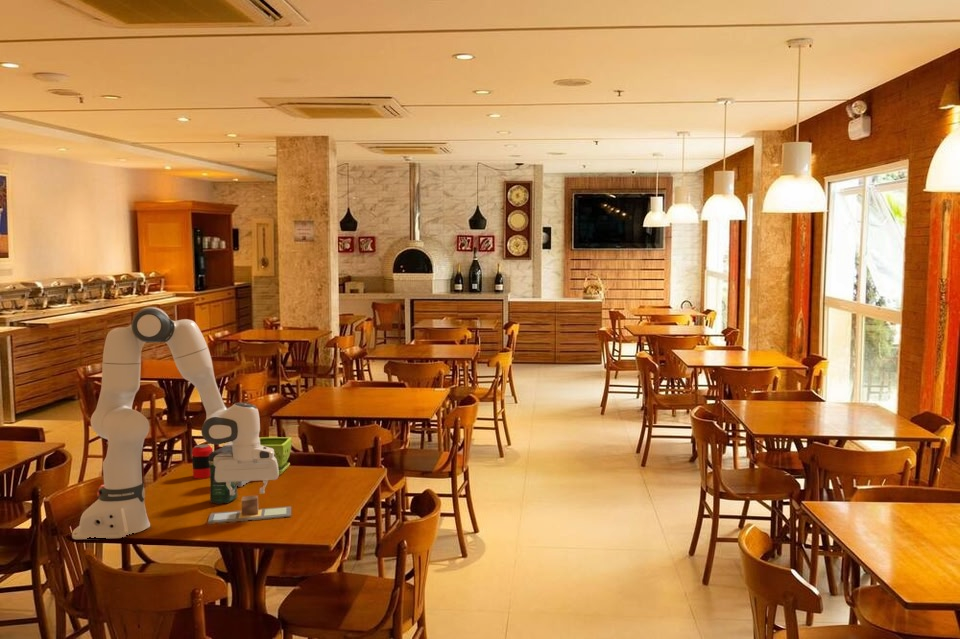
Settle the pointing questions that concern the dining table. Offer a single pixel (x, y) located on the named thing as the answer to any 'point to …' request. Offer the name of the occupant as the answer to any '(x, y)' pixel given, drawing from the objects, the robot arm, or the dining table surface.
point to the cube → (249, 505)
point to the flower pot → (279, 450)
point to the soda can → (201, 461)
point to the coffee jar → (219, 489)
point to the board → (237, 515)
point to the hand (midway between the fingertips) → (247, 494)
